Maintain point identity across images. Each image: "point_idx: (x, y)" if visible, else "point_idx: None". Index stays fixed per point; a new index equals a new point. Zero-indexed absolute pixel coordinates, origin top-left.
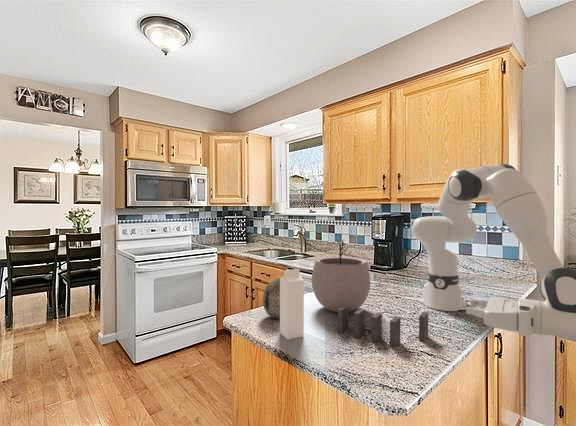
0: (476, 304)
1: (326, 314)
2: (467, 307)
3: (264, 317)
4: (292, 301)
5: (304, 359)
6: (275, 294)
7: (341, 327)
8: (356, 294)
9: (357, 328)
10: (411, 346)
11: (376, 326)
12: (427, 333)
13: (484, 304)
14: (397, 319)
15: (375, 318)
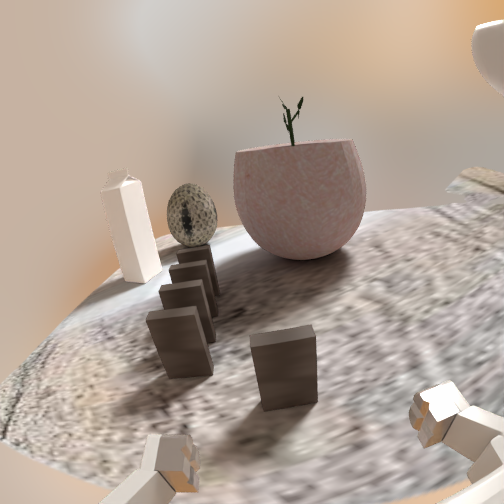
0: (426, 434)
1: (262, 256)
2: (156, 436)
3: None
4: (113, 224)
5: (73, 313)
6: (168, 209)
7: None
8: (276, 223)
9: None
10: (202, 400)
11: None
12: (307, 394)
13: (477, 459)
14: (169, 316)
15: (159, 292)
